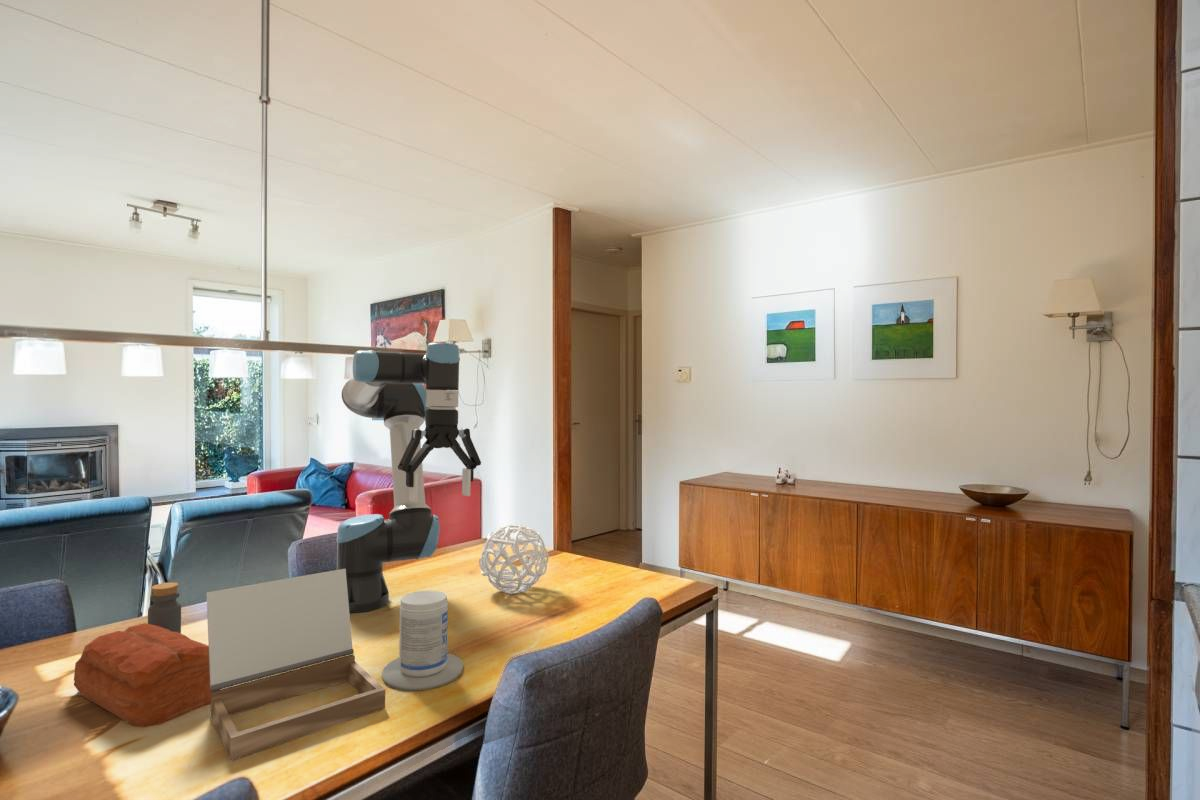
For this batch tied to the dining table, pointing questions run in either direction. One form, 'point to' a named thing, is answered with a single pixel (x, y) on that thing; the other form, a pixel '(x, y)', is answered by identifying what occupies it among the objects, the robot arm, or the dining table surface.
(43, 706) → the dining table surface
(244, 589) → the lid
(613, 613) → the dining table surface
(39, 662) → the dining table surface
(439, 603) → the supplement tub
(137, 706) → the bread
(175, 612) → the bottle
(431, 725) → the dining table surface
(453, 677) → the saucer
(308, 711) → the tray
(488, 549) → the decorative ball
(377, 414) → the robot arm
